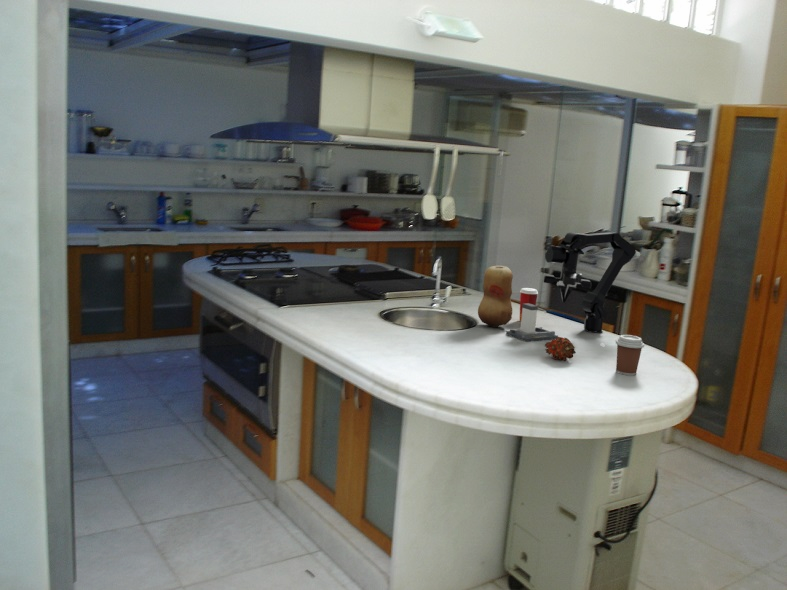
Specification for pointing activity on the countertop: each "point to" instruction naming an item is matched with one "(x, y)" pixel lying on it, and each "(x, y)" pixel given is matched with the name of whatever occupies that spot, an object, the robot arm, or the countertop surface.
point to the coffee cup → (628, 354)
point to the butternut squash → (496, 296)
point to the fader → (528, 318)
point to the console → (533, 334)
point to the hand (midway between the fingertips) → (563, 302)
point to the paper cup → (527, 297)
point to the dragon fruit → (560, 348)
